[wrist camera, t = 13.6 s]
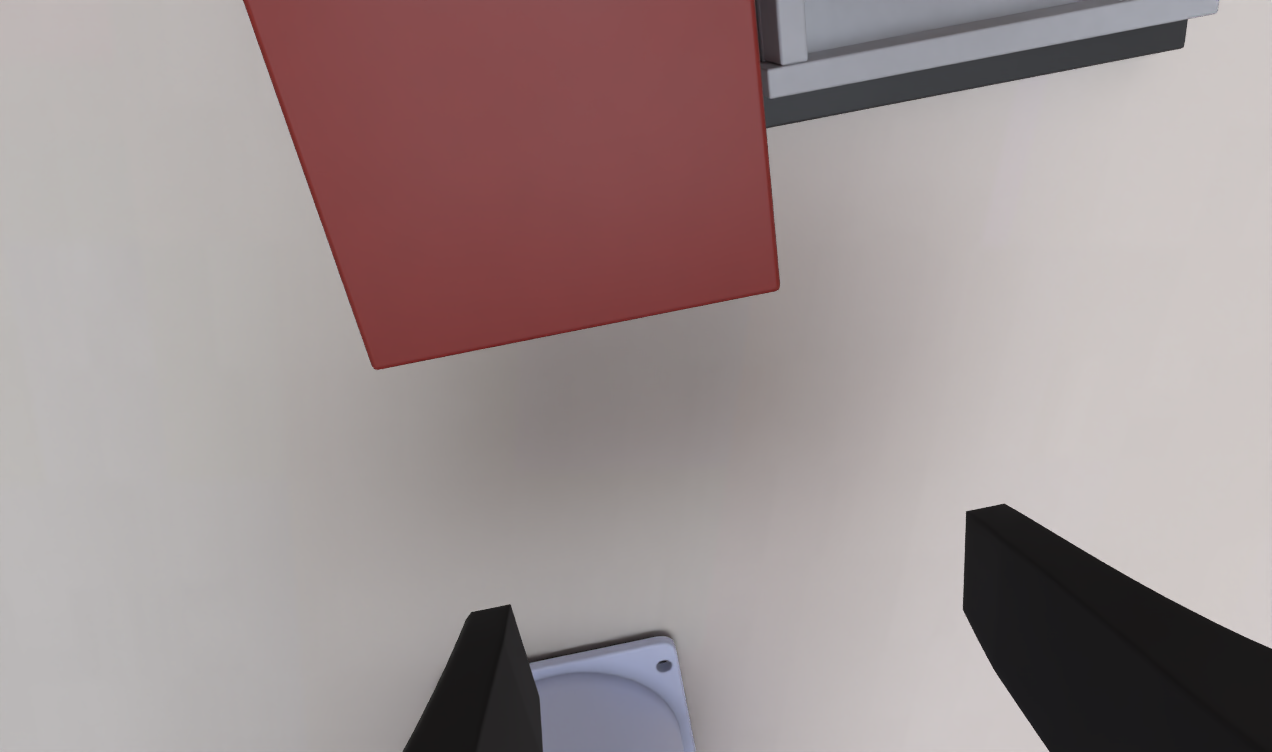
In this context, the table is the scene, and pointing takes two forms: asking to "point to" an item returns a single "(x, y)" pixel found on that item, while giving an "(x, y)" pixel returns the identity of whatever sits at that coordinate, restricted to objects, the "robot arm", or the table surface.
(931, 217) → the table surface
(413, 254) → the coffee maker
